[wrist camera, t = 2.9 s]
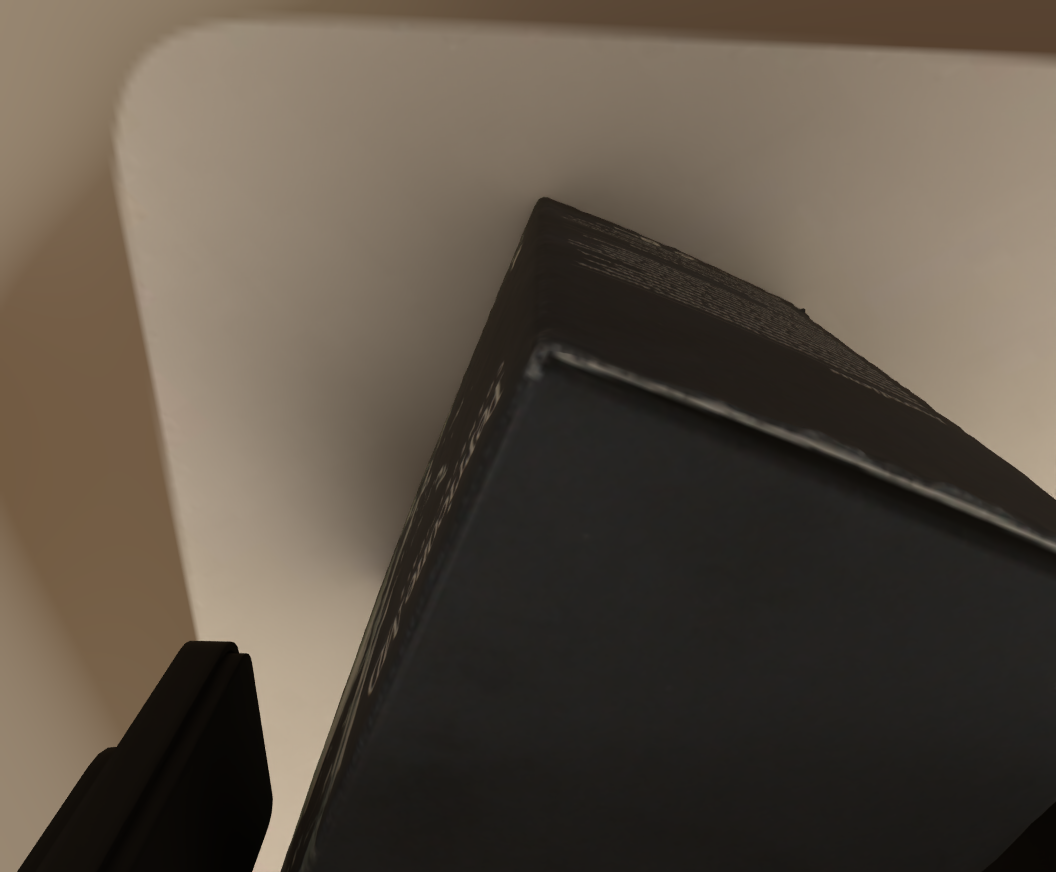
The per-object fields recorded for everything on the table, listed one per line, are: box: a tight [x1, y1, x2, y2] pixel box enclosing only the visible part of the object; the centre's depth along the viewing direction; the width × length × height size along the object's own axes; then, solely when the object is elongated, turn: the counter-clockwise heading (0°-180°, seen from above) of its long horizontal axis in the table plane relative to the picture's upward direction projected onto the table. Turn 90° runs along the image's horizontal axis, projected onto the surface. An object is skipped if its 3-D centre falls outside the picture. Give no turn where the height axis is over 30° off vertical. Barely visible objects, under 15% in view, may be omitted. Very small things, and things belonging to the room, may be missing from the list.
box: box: [281, 197, 1056, 872], centre depth 12 cm, size 11×7×10 cm, turn 158°
